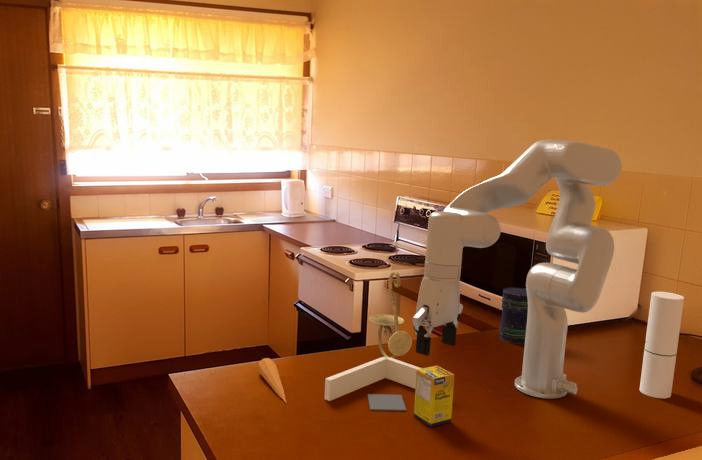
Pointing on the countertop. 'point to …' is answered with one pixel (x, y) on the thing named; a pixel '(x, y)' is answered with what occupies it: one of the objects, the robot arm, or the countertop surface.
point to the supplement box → (434, 395)
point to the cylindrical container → (661, 344)
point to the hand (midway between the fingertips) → (435, 349)
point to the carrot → (272, 376)
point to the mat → (386, 402)
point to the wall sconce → (400, 339)
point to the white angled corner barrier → (370, 376)
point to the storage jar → (514, 315)
